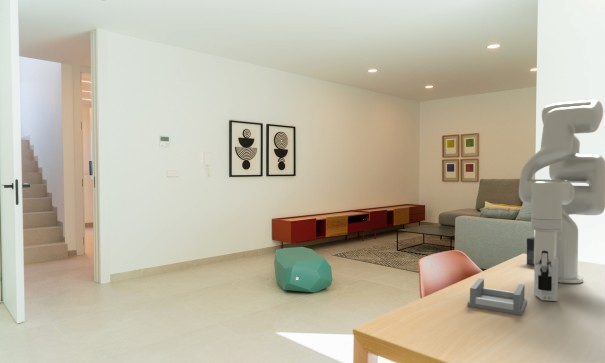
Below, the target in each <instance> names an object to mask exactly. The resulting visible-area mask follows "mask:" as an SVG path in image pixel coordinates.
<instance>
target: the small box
mask: <svg viewBox="0 0 605 363" xmlns="http://www.w3.org/2000/svg"><path fill="white" fill-rule="evenodd" d="M534 238H535V236H533V237H532V236H531V237H527V238H526V265H531V266H534V267H535V265H534Z"/></svg>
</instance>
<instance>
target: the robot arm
mask: <svg viewBox="0 0 605 363" xmlns="http://www.w3.org/2000/svg"><path fill="white" fill-rule="evenodd" d="M603 116H604V107H603V105H602V102H600V101H599V100H598V99H589V100H587V99H586V100H578V101H565V102H557V103H552V104H549V105H546V106H545V107H544V108H543V109H542V111H541V121H542V124H543V126H542V134H541V140H540V142H541V143H540V149H539V150H538V151H537V152H536V153H535V154H533V155H532V156H531V157H530V158H529V159H528V160H526V162H525V164H524V165H523V167H522V169H521V172H520V179H519V183H518V184H519V185H518V197H519V199H520V201H521V202H522V203H524V204H527V205H528V204H529V205H531V206H530V211H531V212H530V215H531V216H530V217H531V218H530V229H531V230H533V231H534V237H535V238H534V265H537V264H539V275H538V289H539V290H545V291H551V290H552V277H551V267H552V266H554V261H555V258H557V259H558V283H559V284H560V283H562V284H580V283H583V282H584V277H582V275H579V274H578V273H579V271H578V270H579V269H578V266H579V265H578V264H579V259H578V258H579V228H578V225H577V223H576V222H575V221H574V220H573V218H571V216H570V215H576V216H577V215H581V216H598V215H602V214H603V213H604V211H605V159H604V157H603V156H602V155H599V154H595V153H594V154H591V153H590V154H589V153H588V154H587V153H586V154H584V153H583V154H580V146H581V142H580V140H579V138H578V137H577V136H576V134H591V133H595V132H596V131H598V129H599V127H600V125H601V123H602V120H603ZM545 167H549V168H548V174H549V178H550V179H537V178H536V179H534V178H533V176H534V175H535V174H536V173H537V172H539V170H542V169H544V168H545ZM573 183H574V184H587V185H573ZM547 257H548V258H547ZM541 262H542V264H541ZM547 263H548V264H549V265H547ZM534 265H533V266H534ZM548 268H549V269H548Z"/></svg>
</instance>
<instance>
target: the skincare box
mask: <svg viewBox="0 0 605 363" xmlns="http://www.w3.org/2000/svg"><path fill="white" fill-rule="evenodd" d="M547 258H548V257H547ZM541 264H542V262H541ZM547 265H549V264H548V263H547ZM548 269H549V268H548ZM538 275H539V264H537V265H535V266H534V274H533V276H534V285H533V286H534V287H533V288H534V292H533V293H534V295H535V296H536V297H537V298H538V299H539V300H541V301H547V302H548V301H553V302H557V301H558V286H559V284H558V283H559V282H558V259H557V258H555V261H554V266H552V267H551V277H552V290H551V291H545V290H539V289H538Z"/></svg>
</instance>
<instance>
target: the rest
mask: <svg viewBox="0 0 605 363" xmlns="http://www.w3.org/2000/svg"><path fill="white" fill-rule="evenodd" d="M527 301H528V299H527V298H525V284H523V283H518V285H517V286H516V288H515V291H510V290H503V289H497V288H496V289H495V288H489V287H485V279H484V278H478V279H477V280H476V281H475V282H474V283H473V284H472V285H471V286H470V288H469V300H468V302H467V307H471V308H477V309H482V310H488V311H492V312H493V311H495V312H499V313H505V314H511V315H515V316H516V315H517V316H523V314H524V311H525V308H526V306H527V304H528V302H527Z"/></svg>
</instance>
